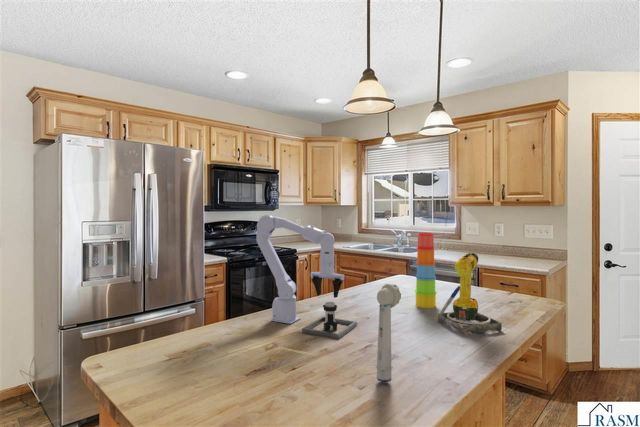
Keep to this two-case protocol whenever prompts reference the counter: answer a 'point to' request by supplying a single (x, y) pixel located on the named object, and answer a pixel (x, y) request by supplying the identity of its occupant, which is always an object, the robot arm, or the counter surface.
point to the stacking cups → (425, 272)
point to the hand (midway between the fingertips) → (327, 296)
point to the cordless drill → (466, 302)
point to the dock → (309, 330)
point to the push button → (329, 316)
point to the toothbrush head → (385, 330)
